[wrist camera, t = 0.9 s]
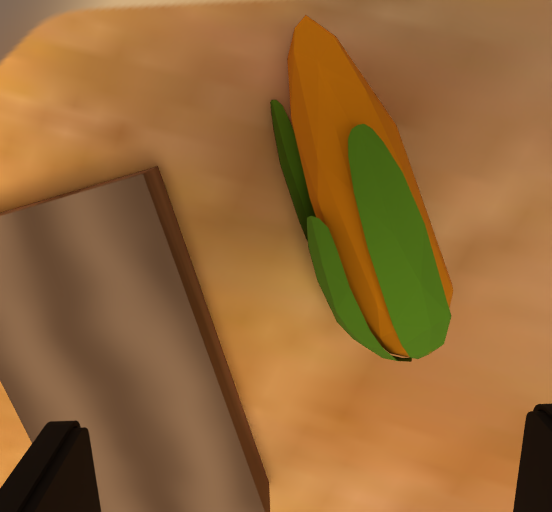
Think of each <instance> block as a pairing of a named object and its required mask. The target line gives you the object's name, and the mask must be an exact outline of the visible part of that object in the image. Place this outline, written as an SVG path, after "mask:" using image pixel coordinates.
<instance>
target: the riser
mask: <svg viewBox="0 0 552 512" xmlns="http://www.w3.org/2000/svg"><path fill="white" fill-rule="evenodd" d="M0 381H1V383H2V385H3V387H4V389H5V391H6V393H7V395H8V397H9V398H10V400H11V402H12V404H13V406H14V408H15V410H16V412H17V414H18V416H19V418H20V420H21V422H22V424H23V426H24V428H25V430H26V432H27V434H28V436H29V438H30V440H31V442H32V443H33V442H34V440H35V439H36V438H37V436H38V435H39V433H40V432H41V430H42V429H43V428H44V426H45V425H46V424H47V423H48V422H50V421H75V420H76V421H78V422H79V424H80V426H81V427H86V428H87V429H88V431H89V436H90V442H91V448H92V455H93V461H94V468H95V474H96V481H97V487H98V493H99V500H100V506H101V512H270V497H269V482H268V479H267V476H266V473H265V470H264V468H263V465H262V462H261V459H260V456H259V453H258V450H257V448H256V445H255V442H254V439H253V436H252V433H251V430H250V428H249V425H248V422H247V419H246V416H245V413H244V411H243V408H242V405H241V402H240V399H239V396H238V393H237V391H236V388H235V385H234V382H233V379H232V376H231V374H230V371H229V368H228V365H227V362H226V359H225V356H224V354H223V351H222V348H221V345H220V342H219V339H218V336H217V334H216V331H215V328H214V325H213V322H212V319H211V317H210V314H209V311H208V308H207V305H206V302H205V299H204V297H203V294H202V291H201V288H200V285H199V282H198V280H197V277H196V274H195V271H194V268H193V265H192V262H191V260H190V257H189V254H188V251H187V248H186V245H185V242H184V240H183V237H182V234H181V231H180V228H179V225H178V223H177V220H176V217H175V214H174V211H173V208H172V205H171V203H170V200H169V197H168V194H167V191H166V188H165V186H164V183H163V180H162V177H161V174H160V171H159V168H158V166H157V167H154V168H150V169H147V170H144V171H140V172H137V173H133V174H130V175H127V176H123V177H120V178H117V179H113V180H110V181H106V182H103V183H100V184H96V185H93V186H89V187H86V188H83V189H79V190H76V191H73V192H69V193H66V194H62V195H59V196H56V197H52V198H49V199H46V200H42V201H39V202H35V203H32V204H29V205H25V206H22V207H18V208H15V209H12V210H8V211H5V212H2V213H0Z"/></svg>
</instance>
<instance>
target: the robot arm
mask: <svg viewBox="0 0 552 512" xmlns="http://www.w3.org/2000/svg"><path fill="white" fill-rule="evenodd" d="M0 512H101V506H100V500H99V493H98V487H97V481H96V474H95V468H94V461H93V455H92V448H91V442H90V436H89V431H88V429H87V428H86V427H81V426H80V424H79V422H78V421H76V420H75V421H50V422H48V423H47V424H46V425H45V426H44V428H43V429H42V430H41V432H40V433H39V435H38V436H37V438H36V439H35V440H34V442H33V443H32V445H31V446H30V447H29V449H28V450H27V452H26V453H25V454H24V456H23V457H22V459H21V460H20V462H19V463H18V464H17V466H16V467H15V469H14V470H13V471H12V473H11V474H10V476H9V477H8V478H7V480H6V481H5V483H4V484H3V486H2V487H1V488H0ZM513 512H552V404H538V405H536V406H535V408H534V410H533V411H531V412H528V414H527V416H526V421H525V429H524V436H523V443H522V451H521V458H520V465H519V473H518V480H517V487H516V495H515V502H514V509H513Z"/></svg>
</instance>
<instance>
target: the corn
mask: <svg viewBox="0 0 552 512" xmlns="http://www.w3.org/2000/svg"><path fill="white" fill-rule="evenodd" d="M287 60H288V75H289V91H290V107H291V120H292V125H293V128H292V125H291V123H290V120H289V118H288V116H287V114H286V112H285V110H284V108H283V106H282V105H281V104H280V103H279V102H278V101H277V100H271V102H270V103H271V113H272V120H273V128H274V133H275V139H276V144H277V149H278V154H279V160H280V164H281V168H282V171H283V174H284V177H285V180H286V183H287V186H288V189H289V192H290V195H291V198H292V201H293V204H294V207H295V210H296V213H297V216H298V219H299V222H300V224H301V227H302V229H303V231H304V234H305V236H306V239H307V241H308V247H309V251H310V254H311V258H312V262H313V265H314V269H315V273H316V277H317V280H318V283H319V285H320V287H321V289H322V291H323V293H324V295H325V297H326V299H327V302H328V304H329V306H330V308H331V310H332V312H333V314H334V316H335V319H336V321H337V322H338V323H339V325H340V326H341V327H342V328H343V329H344V330H345V331H346V332H347V333H348V334H349V335H350V336H351V337H352V338H353V339H354V340H356V341H357V342H359V343H360V344H362V345H363V346H365V347H366V348H368V349H369V350H371V351H373V352H374V353H376V354H377V355H379V356H380V357H382V358H385V359H390V360H396V361H409V362H411V361H412V358H416V359H419V358H421V357H424V356H426V355H428V354H430V353H431V352H433V351H434V350H436V349H437V348H439V347H440V346H442V345H443V344H444V341H445V338H446V334H447V330H448V326H449V323H450V319H451V313H450V310H449V307H450V303H451V298H452V294H453V287H452V283H451V280H450V277H449V274H448V272H447V269H446V266H445V263H444V260H443V257H442V254H441V251H440V249H439V246H438V243H437V240H436V237H435V234H434V231H433V229H432V226H431V223H430V220H429V217H428V214H427V211H426V209H425V206H424V203H423V200H422V197H421V194H420V191H419V189H418V186H417V183H416V180H415V177H414V174H413V171H412V169H411V166H410V163H409V160H408V157H407V154H406V151H405V149H404V146H403V143H402V140H401V137H400V134H399V131H398V129H397V126H396V124H395V123H394V121H393V120H392V118H391V117H390V116H389V114H388V113H387V111H386V110H385V108H384V107H383V105H382V104H381V102H380V101H379V99H378V98H377V96H376V95H375V93H374V92H373V91H372V89H371V88H370V86H369V85H368V83H367V82H366V80H365V79H364V77H363V76H362V74H361V73H360V71H359V70H358V68H357V67H356V66H355V64H354V63H353V61H352V60H351V58H350V57H349V55H348V54H347V52H346V51H345V49H344V48H343V46H342V45H341V43H340V42H339V41H338V39H337V38H336V36H334V35H333V34H332V33H330V32H329V31H327V30H326V29H325V28H323V27H322V26H321V25H319V24H318V23H316V22H315V21H314V20H312V19H311V18H309V17H308V16H306V15H305V17H304V18H303V19H302V20H301V21H300V23H299V24H298V25H297V26H296V27H295V29H294V33H293V38H292V42H291V46H290V50H289V55H288V59H287ZM293 129H294V130H293ZM383 348H384V349H385V350H386V351H385V350H384V349H383ZM387 351H388V352H389V353H391V354H396V355H400V356H405V357H410V358H400V357H396V356H392V355H390V354H389V353H388V352H387Z"/></svg>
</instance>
